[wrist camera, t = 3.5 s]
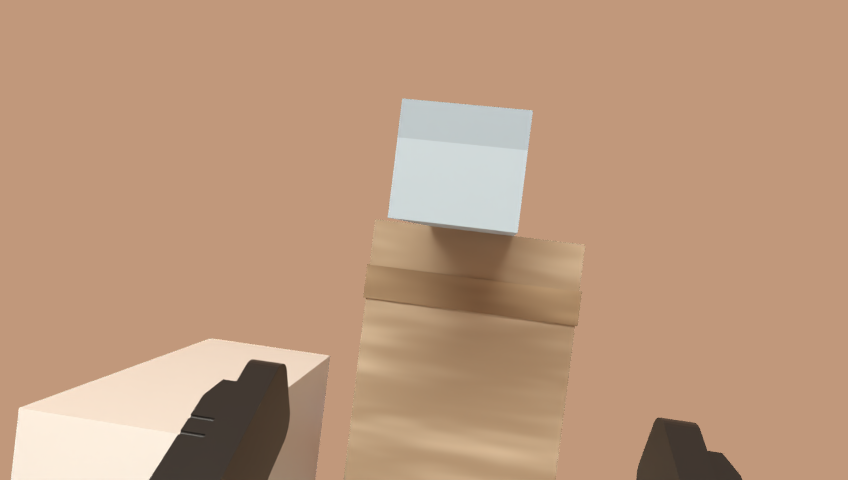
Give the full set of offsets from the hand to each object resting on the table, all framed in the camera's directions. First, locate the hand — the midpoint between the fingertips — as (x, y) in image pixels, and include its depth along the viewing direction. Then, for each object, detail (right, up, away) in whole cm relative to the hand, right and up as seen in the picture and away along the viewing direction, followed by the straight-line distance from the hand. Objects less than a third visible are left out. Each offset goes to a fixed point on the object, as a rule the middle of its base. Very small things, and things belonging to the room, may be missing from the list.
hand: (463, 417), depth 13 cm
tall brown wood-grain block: (-1, -28, +23) cm, 36 cm away
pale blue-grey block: (+2, +4, +17) cm, 18 cm away
